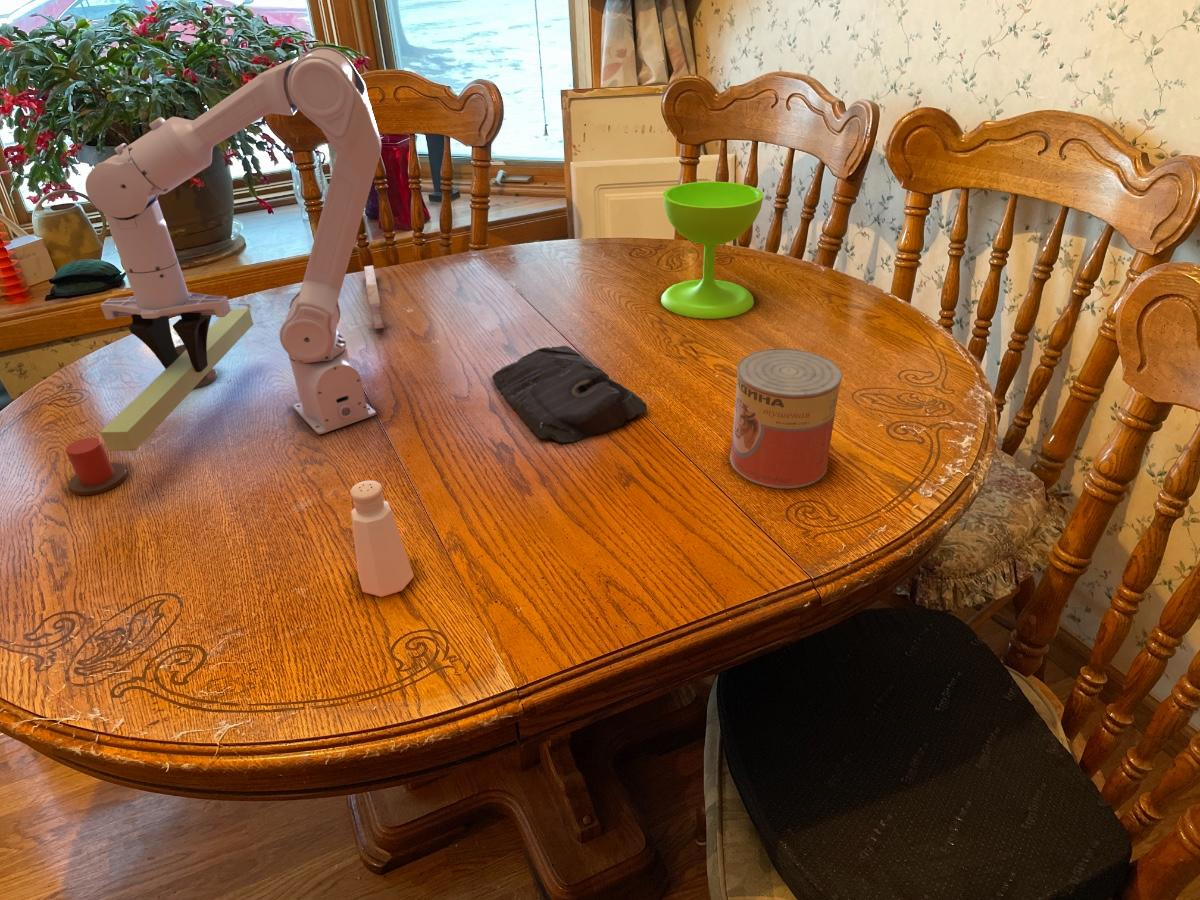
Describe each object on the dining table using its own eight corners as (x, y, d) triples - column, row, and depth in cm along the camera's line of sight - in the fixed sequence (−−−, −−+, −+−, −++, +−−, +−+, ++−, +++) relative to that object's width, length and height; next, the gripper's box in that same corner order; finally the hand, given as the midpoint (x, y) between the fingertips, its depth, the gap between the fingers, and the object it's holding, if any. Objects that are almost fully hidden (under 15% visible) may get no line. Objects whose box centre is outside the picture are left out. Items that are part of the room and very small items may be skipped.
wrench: (378, 293, 149) (387, 337, 123) (369, 294, 148) (375, 339, 122) (370, 250, 145) (377, 287, 119) (360, 251, 145) (365, 289, 119)
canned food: (713, 447, 95) (719, 358, 88) (793, 428, 98) (804, 341, 92) (760, 498, 86) (771, 403, 80) (847, 475, 89) (863, 383, 83)
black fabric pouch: (580, 354, 118) (579, 325, 115) (655, 419, 101) (655, 386, 98) (485, 378, 112) (481, 348, 109) (548, 450, 95) (545, 417, 93)
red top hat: (132, 482, 92) (117, 446, 89) (75, 502, 89) (57, 465, 86) (121, 461, 96) (106, 426, 93) (66, 479, 93) (49, 443, 90)
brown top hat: (222, 380, 113) (212, 349, 111) (178, 393, 110) (167, 362, 108) (210, 366, 117) (200, 336, 115) (168, 379, 114) (156, 348, 112)
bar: (135, 451, 85) (127, 431, 84) (108, 451, 85) (99, 432, 84) (253, 324, 113) (249, 308, 112) (233, 324, 113) (228, 308, 112)
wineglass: (647, 290, 139) (648, 187, 129) (729, 278, 143) (736, 177, 133) (681, 324, 126) (685, 212, 116) (771, 310, 130) (781, 201, 120)
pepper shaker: (418, 559, 79) (401, 469, 73) (409, 596, 74) (389, 504, 68) (365, 561, 79) (342, 471, 73) (352, 599, 74) (327, 506, 68)
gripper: (70, 278, 88) (114, 384, 95) (197, 275, 88) (231, 382, 95) (104, 257, 94) (143, 359, 101) (223, 254, 93) (253, 357, 101)
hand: (187, 368), depth 98 cm, fingers closed on bar, 3 cm apart
